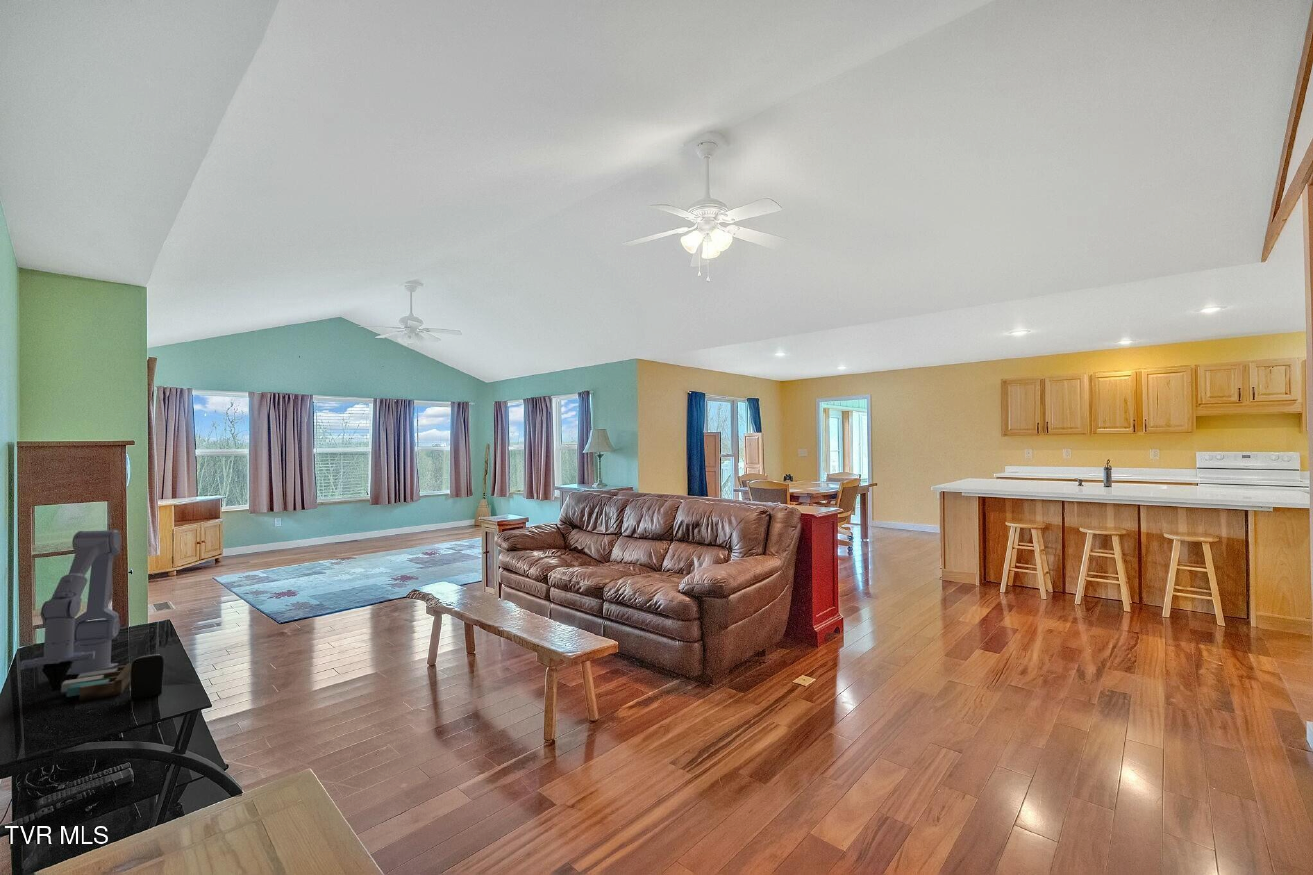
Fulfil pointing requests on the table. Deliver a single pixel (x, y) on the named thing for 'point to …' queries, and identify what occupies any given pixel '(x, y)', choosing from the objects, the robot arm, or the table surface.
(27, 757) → the table surface
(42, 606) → the robot arm
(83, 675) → the light grey rectangular block
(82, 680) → the off-white rectangular box
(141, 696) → the battery charger
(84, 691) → the walnut key block
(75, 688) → the teal flat slab
